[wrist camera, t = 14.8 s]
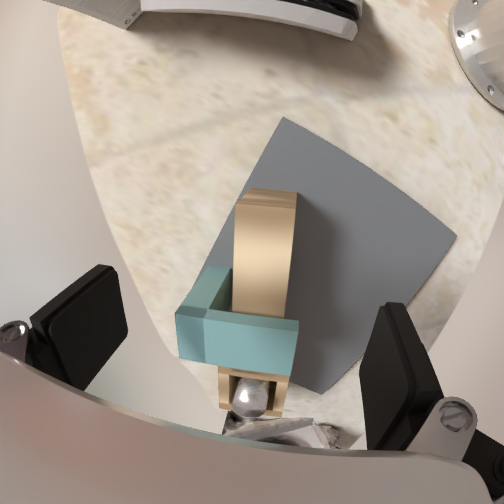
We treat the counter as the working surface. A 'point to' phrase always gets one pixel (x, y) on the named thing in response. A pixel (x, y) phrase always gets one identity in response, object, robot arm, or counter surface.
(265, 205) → the wooden block with hole
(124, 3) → the skincare box
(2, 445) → the robot arm
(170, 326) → the counter surface
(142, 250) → the counter surface
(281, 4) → the white slotted curved device
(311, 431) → the meal
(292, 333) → the bracket
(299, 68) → the counter surface
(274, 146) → the plate
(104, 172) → the counter surface
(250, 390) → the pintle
